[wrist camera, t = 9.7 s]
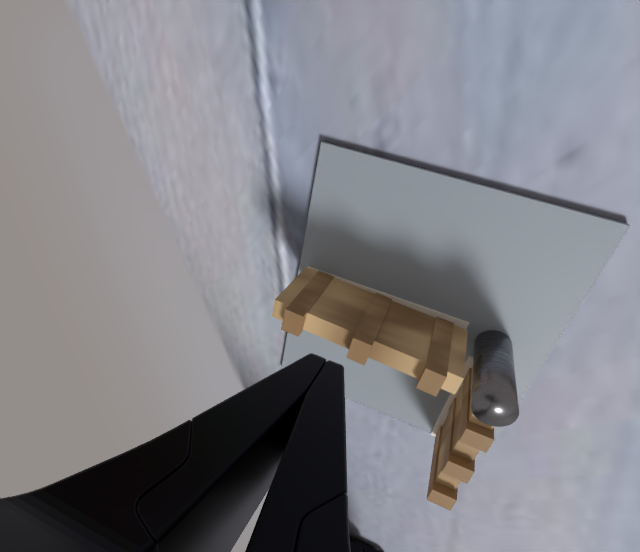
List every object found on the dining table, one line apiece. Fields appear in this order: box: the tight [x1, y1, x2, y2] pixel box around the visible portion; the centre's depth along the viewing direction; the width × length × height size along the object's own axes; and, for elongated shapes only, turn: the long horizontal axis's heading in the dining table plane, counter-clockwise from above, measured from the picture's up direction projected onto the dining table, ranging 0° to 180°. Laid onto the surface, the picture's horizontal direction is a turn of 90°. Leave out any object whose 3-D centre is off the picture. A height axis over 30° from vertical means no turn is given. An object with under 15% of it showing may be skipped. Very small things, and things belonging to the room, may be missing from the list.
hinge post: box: [471, 330, 519, 427], centre depth 18 cm, size 2×2×5 cm
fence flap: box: [272, 267, 468, 396], centre depth 19 cm, size 9×1×4 cm, turn 78°
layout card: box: [281, 141, 630, 457], centre depth 21 cm, size 15×14×1 cm
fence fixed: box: [427, 367, 494, 510], centre depth 20 cm, size 6×1×4 cm, turn 170°
